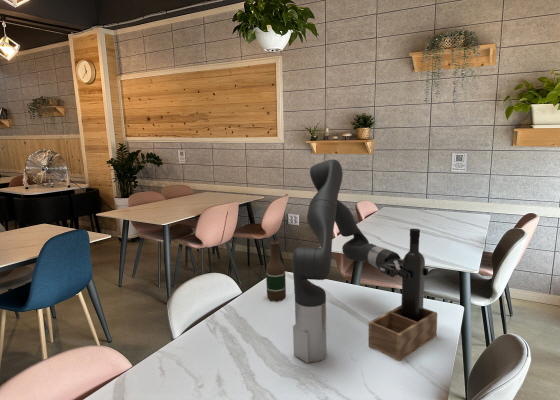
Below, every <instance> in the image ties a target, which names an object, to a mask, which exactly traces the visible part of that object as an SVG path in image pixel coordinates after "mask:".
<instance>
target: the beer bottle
mask: <svg viewBox="0 0 560 400" xmlns="http://www.w3.org/2000/svg"><path fill="white" fill-rule="evenodd" d="M269 245H270V257H269V259H270V260H269V262H268V263H267V266H266V268H265V269H266V271H265V275H266V277H265V278H266V280H265V281H266V297H267V299H268V300H269V301H270V302H275V303H276V302H282V301H284V300H285V298H286V297H287V286H286V284H287V283H286V281H287V280H286V267H285V265H284V263H283V261H282V260H281V255H280V242H279V241H278V240H271V241H270V243H269Z"/></svg>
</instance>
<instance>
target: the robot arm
mask: <svg viewBox="0 0 560 400" xmlns="http://www.w3.org/2000/svg"><path fill="white" fill-rule="evenodd" d="M309 176H310V180H311V182H312V184H313V186H314V187H315V189H316V191H317V192H316V193H315V195H313V197H312V199H311V200H310V202H309V205H308V209H307V213H306V221H307V224H308V226H309V228H310V230H311V231H312V233H313V234H314V236H316V238H317V240H318V242H319V244H320V247H309V246H308V247H303V246H301V247H300V246H298V247H296V248H295V249H294V251H293V254H292V273H293V274H292V275H293V286H294V287H293V291H294V293H293V294H294V308H295V309H294V314H295V315H294V316H295V317H294V319H295V321H294V322H295V324H294V325H293V326H292V336H293V340H292V341H293V356H295V357H297V358H298V359H299V360H301V361H303V362H305V363H306V364H309V363H316V362H319V361H323V360H324V359H325V358H326V357H327V355H328V354H327V353H328V351H327V349H328V348H327V347H328V345H327V293H326V291H325V289H324V288H322V287H320V286H318V285H316V284H314V283H313V282H311V280H314V281H324V280H325V281H326V280H327V279H328V278H329V276H330V273H331V268H332V267H331V266H332V265H331V264H332V250H333V249H332V247H333V246H332V245H333V234H334V228H335V226H336V227H337V229H338V232H339V233H340V235H341V236H342V237H344V238H347V237H351V236H353V238H351V239H349V240H347V241H346V242H344V244H343V245H342V248H341V249H342V250H341V251H342V254H343V255H344V256H345V258H347V259H349V260H352V261H354V262H355V261H357V262H365V263H367V264H370V265H372V267H375V268H377V269H378V270H379V271H380V273H382V274H384V275H386V276H388V277H391V278H395V276H396V277H399V278H400V277H401V278H402V277H403V278H405V279H407V280H410V273H409V272H407V271H404V270H403V259H404V258H402V257H401V256H400V255H399V254H398V252H395V251H394V250H390V249H388V248H385V247H381V246H379V245H376V244H374V243H370V242H369V239H368V238H367V237H366V236H365V235H364V233H363V232H362V231H361V230H360V228H359V227H358V225H357V223H356V221H355V218H354V216H353V213H352V211H351V210H350V209H349V208H348V207H347V205H345V204H344V203H343V202H341V201H340V200H339V199H338V198H339V193H340V189H341V186H342V182H343V167H342V164H341V163H340V161H338V159H335V158H334V159H328V160H325V161H322V162H319V163H316V164H313V165H312V166H311V167H310V169H309ZM428 275H429V268H427V267H425V272H424V277H425V276H428Z"/></svg>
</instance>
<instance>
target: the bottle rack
mask: <svg viewBox="0 0 560 400" xmlns="http://www.w3.org/2000/svg"><path fill="white" fill-rule="evenodd" d="M437 331H438V312H436V311H433V310H430V309H428V308H426V307H423V318H422V319H421V320H420V321H418V322H416V321H414V320H411V319H409V318H406V317H403V316H401V305H399V306H397V307H395V308H393V309H391V310H389V311H388V312H385V313H384V314H382V315H379V316H378V317H376V318H374V319H372V320H370V321H368V347H369V348H372V349H374V350H375V351H378V352H380V353H382V354H384V355H386V356H387V357H390V358H392V359H394V360H396V361H399V362H400V361H402V360H403V359H405V358H406V357H408V356H410V354H412V353H413V352H415V351H417V350H418V349H420V348H421V347H422V346H424V345H426V344H427V343H429V342H430V341H431V340H433V339H434V338H437V334H438V333H437Z"/></svg>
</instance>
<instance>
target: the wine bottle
mask: <svg viewBox="0 0 560 400" xmlns="http://www.w3.org/2000/svg"><path fill="white" fill-rule="evenodd" d="M420 232H421V229H419V228H410V229H409V251H408V252H407V253H405V255H404V256H403V258H402V259H403V270H404V271H407V272H409V273H410V280H407V279H405V278H403V277H401V278H402V280H401V304H400V306H401V316H403V317H406V318H409V319H411V320H414V321H416V322H418V321H420V320H421V319H422V318H423V308H424V297H425V296H424V295H425V294H424V293H425V291H424V290H425V275H424V272H425V268H426V266H425V264H426V260H425V257H424V255H423V254H422V253H421V252H420V236H421V234H420Z"/></svg>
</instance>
